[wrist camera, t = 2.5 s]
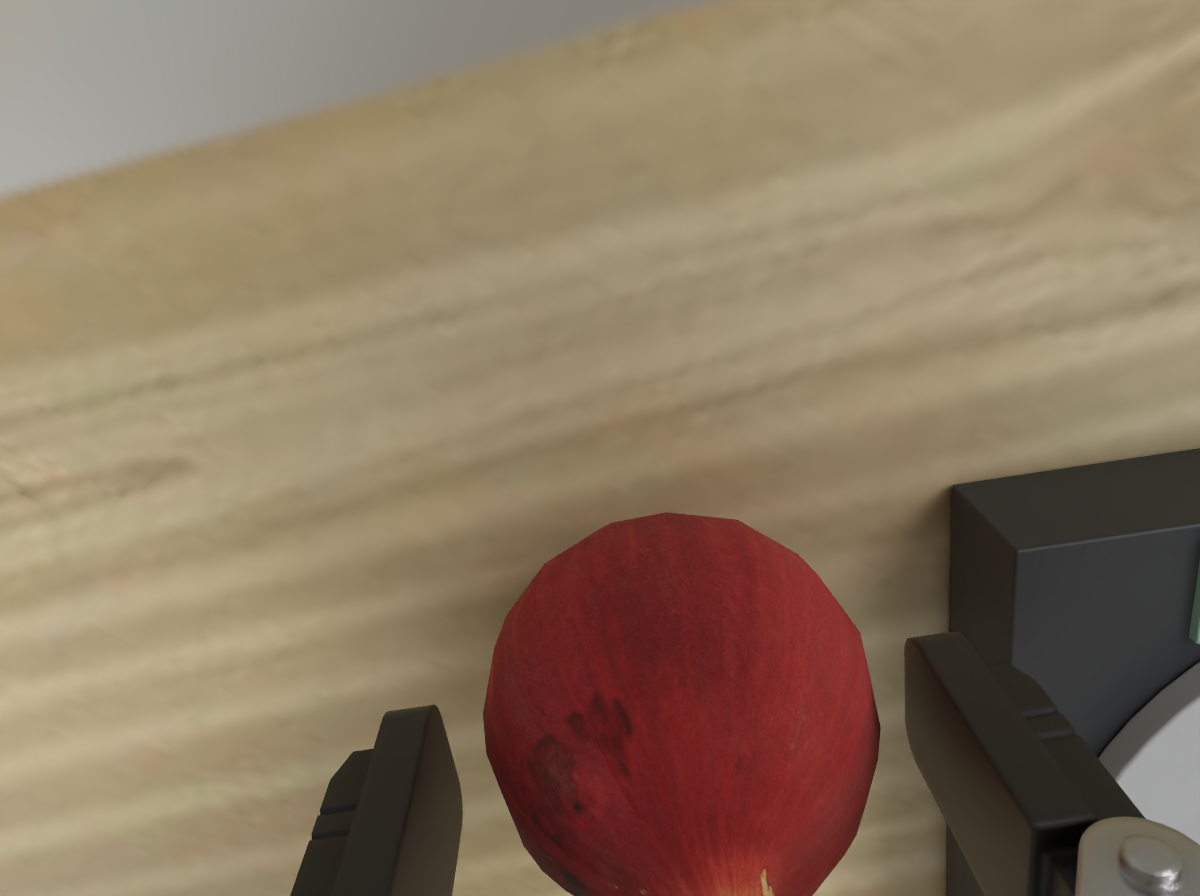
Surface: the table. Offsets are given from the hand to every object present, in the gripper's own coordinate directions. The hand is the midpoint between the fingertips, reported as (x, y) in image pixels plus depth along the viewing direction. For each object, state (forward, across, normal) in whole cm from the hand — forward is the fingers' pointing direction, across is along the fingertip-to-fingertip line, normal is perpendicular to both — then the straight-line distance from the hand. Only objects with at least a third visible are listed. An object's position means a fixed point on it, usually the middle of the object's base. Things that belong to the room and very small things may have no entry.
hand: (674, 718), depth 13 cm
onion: (+4, 0, 0) cm, 4 cm away
